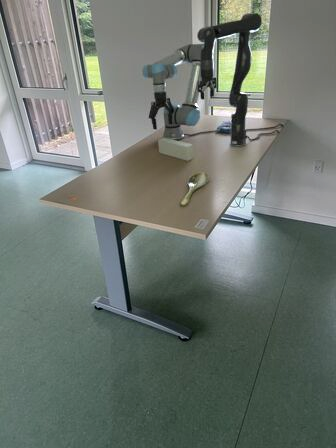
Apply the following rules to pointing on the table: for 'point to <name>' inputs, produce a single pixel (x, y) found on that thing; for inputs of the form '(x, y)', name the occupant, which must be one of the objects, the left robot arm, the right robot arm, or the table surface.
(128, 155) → the table surface
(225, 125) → the spray gun
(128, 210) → the table surface
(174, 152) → the bar
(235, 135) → the right robot arm
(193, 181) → the spoon
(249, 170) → the table surface
